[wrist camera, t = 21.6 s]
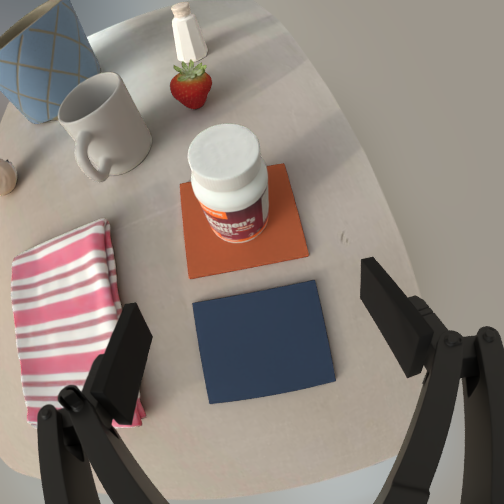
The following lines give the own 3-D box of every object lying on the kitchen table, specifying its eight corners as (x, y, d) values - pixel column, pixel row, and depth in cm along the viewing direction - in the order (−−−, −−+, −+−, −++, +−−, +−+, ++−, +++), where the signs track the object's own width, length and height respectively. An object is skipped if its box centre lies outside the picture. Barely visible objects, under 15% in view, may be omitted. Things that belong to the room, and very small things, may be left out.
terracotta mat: (284, 165, 32) (284, 163, 32) (308, 256, 29) (309, 255, 28) (180, 186, 32) (179, 183, 32) (190, 279, 29) (188, 278, 28)
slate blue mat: (314, 280, 28) (315, 279, 27) (335, 380, 25) (336, 381, 24) (193, 303, 28) (192, 302, 28) (210, 403, 25) (209, 404, 24)
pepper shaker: (214, 48, 41) (204, -3, 31) (198, 64, 40) (184, 11, 29) (188, 46, 42) (175, -1, 32) (172, 62, 41) (155, 12, 30)
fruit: (223, 110, 36) (213, 64, 28) (186, 126, 35) (170, 82, 28) (208, 91, 37) (197, 48, 30) (174, 106, 37) (158, 65, 29)
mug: (105, 133, 36) (71, 83, 26) (156, 121, 36) (129, 63, 26) (86, 204, 33) (36, 159, 22) (144, 195, 32) (100, 139, 22)
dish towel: (44, 426, 24) (26, 430, 21) (21, 257, 31) (5, 250, 28) (154, 422, 24) (139, 431, 21) (114, 218, 32) (99, 205, 28)
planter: (17, 125, 41) (-32, 69, 22) (71, 64, 46) (37, 5, 27) (58, 135, 38) (-5, 58, 19) (123, 62, 43) (87, -17, 24)
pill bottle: (208, 245, 29) (174, 190, 18) (211, 191, 31) (184, 122, 20) (270, 243, 29) (268, 185, 18) (268, 189, 31) (265, 115, 20)
